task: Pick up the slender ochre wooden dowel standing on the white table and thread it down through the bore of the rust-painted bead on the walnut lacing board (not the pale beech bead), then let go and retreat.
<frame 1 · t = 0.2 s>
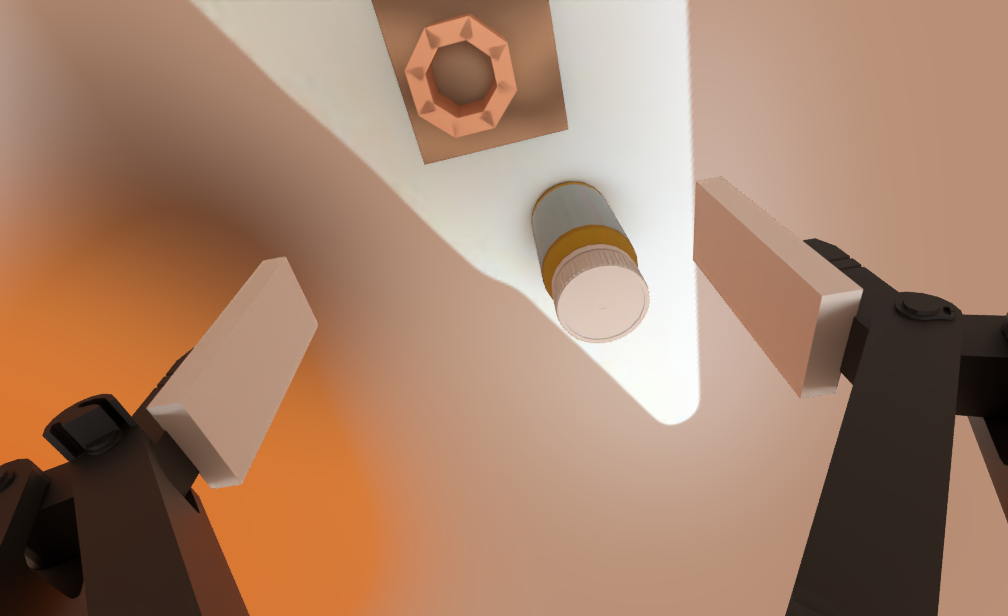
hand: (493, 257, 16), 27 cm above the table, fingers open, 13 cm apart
bead rust: (463, 71, 37), resting on lacing board
bottle: (568, 216, 45), on the table
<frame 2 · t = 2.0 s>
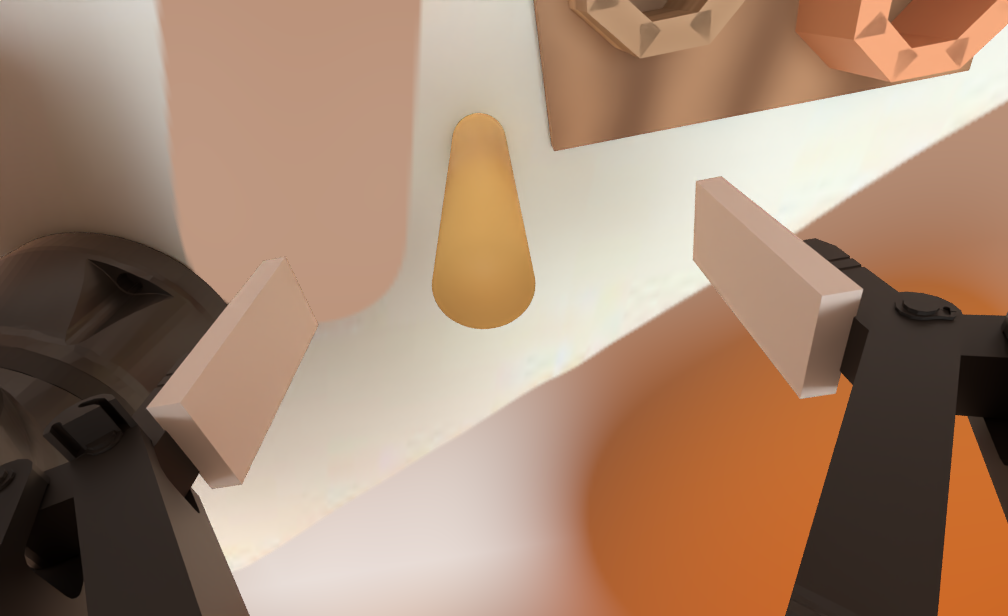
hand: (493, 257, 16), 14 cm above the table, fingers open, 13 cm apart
dowel: (479, 141, 28), on the table
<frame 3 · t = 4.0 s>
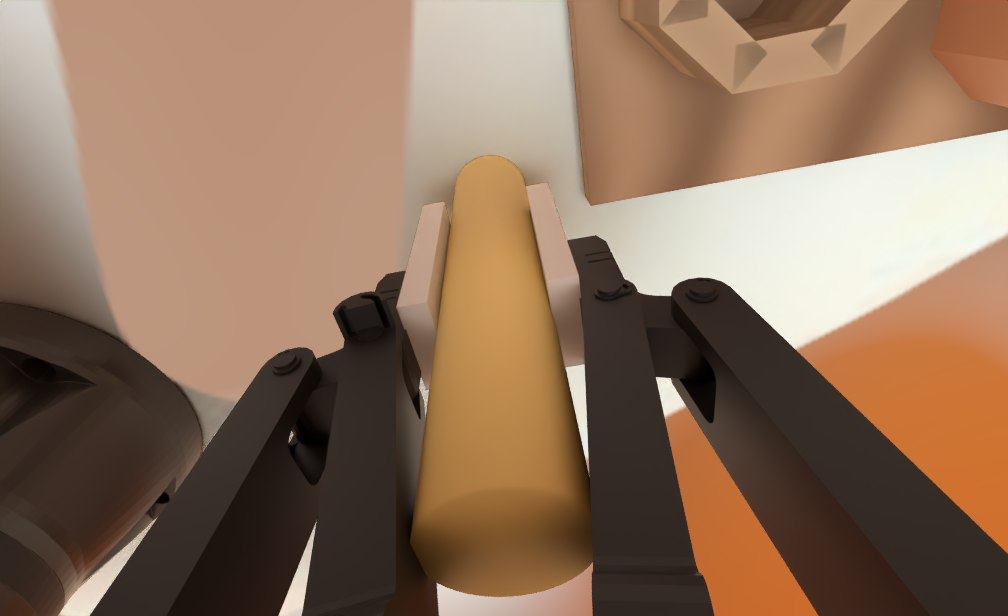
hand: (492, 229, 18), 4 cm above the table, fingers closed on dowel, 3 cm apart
dowel: (490, 190, 21), on the table, touching gripper
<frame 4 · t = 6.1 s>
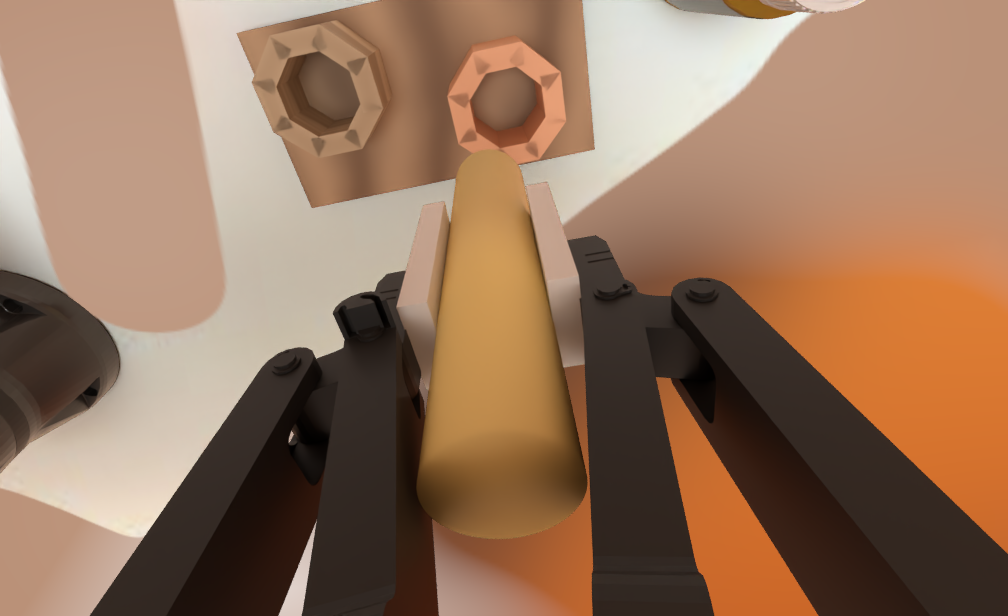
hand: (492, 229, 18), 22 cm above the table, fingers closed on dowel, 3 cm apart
bead rust: (503, 95, 34), resting on lacing board
lacing board: (431, 92, 35), on the table
dowel: (489, 183, 22), point 16 cm above the table, touching gripper
bead beech: (335, 83, 33), resting on lacing board
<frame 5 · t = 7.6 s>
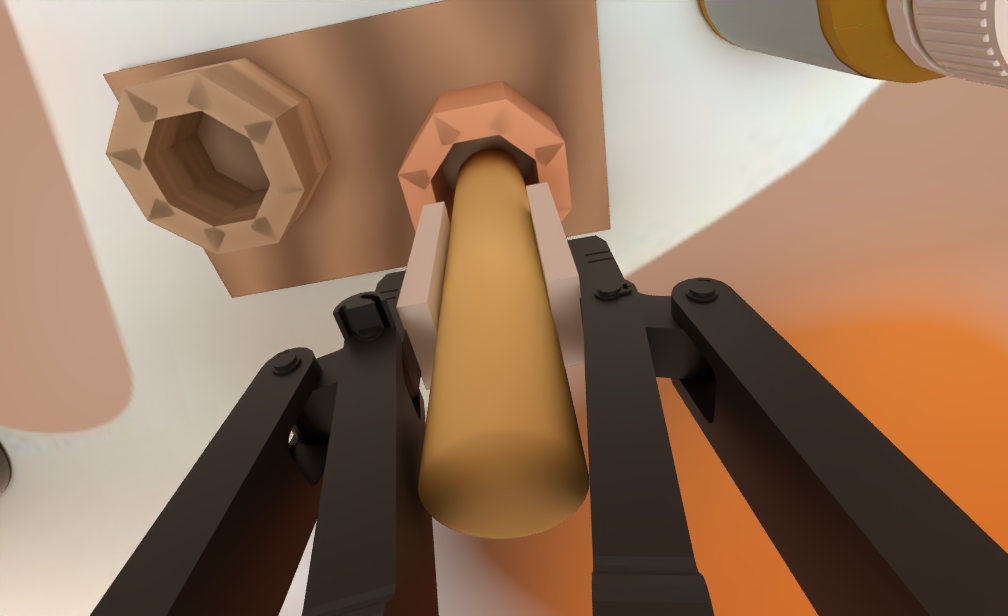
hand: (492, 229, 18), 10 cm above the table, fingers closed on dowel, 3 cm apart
bead rust: (485, 160, 25), resting on lacing board
lacing board: (387, 153, 25), on the table
dowel: (490, 183, 22), point 4 cm above the table, touching gripper
bead beech: (250, 142, 24), resting on lacing board
when the fingers open (7 cm above the table, at t = 8.6 s): dowel stays where it is, resting on lacing board.
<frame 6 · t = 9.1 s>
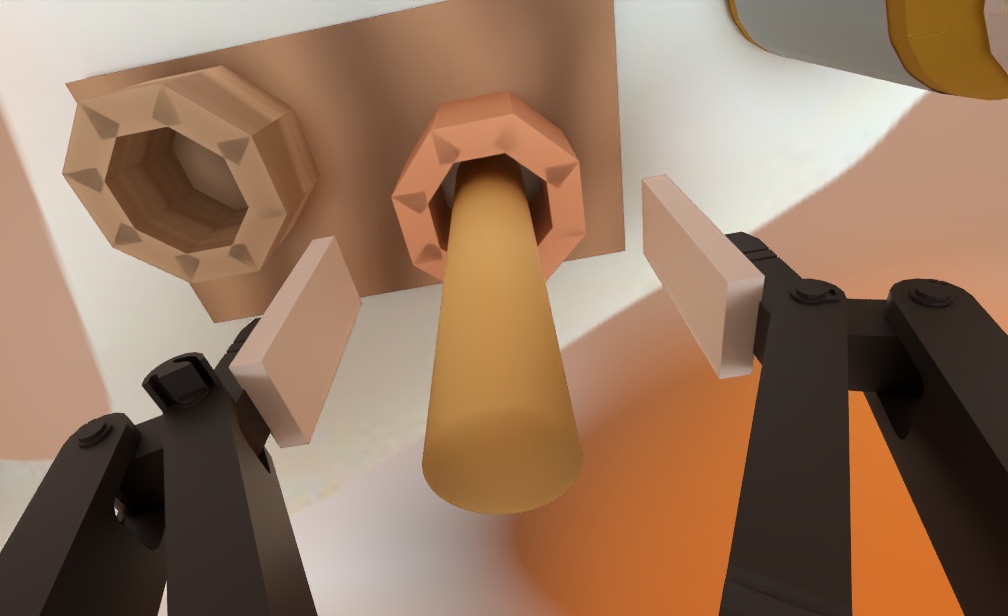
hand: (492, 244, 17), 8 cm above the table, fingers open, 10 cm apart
bead rust: (489, 177, 22), resting on lacing board
lacing board: (381, 168, 23), on the table
dowel: (489, 178, 22), point 1 cm above the table, touching lacing board
bead beech: (230, 158, 22), resting on lacing board
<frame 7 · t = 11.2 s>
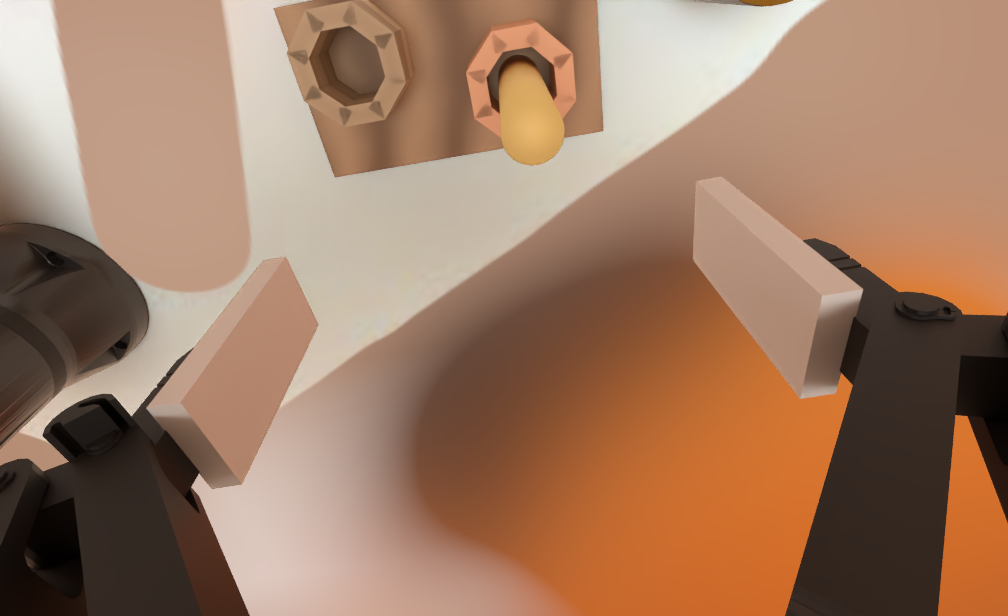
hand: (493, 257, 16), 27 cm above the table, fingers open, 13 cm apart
bead rust: (518, 76, 36), resting on lacing board
lacing board: (450, 71, 37), on the table
dowel: (518, 77, 36), point 1 cm above the table, touching lacing board
bead beech: (362, 59, 35), resting on lacing board
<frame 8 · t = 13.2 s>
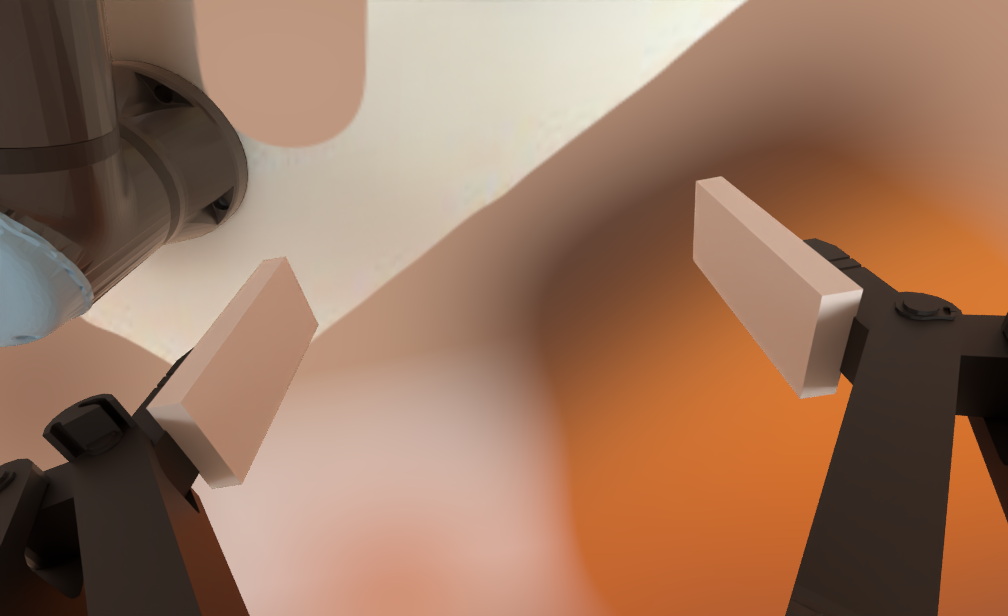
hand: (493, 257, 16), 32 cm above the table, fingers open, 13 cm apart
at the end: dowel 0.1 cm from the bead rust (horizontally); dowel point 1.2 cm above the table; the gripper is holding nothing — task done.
